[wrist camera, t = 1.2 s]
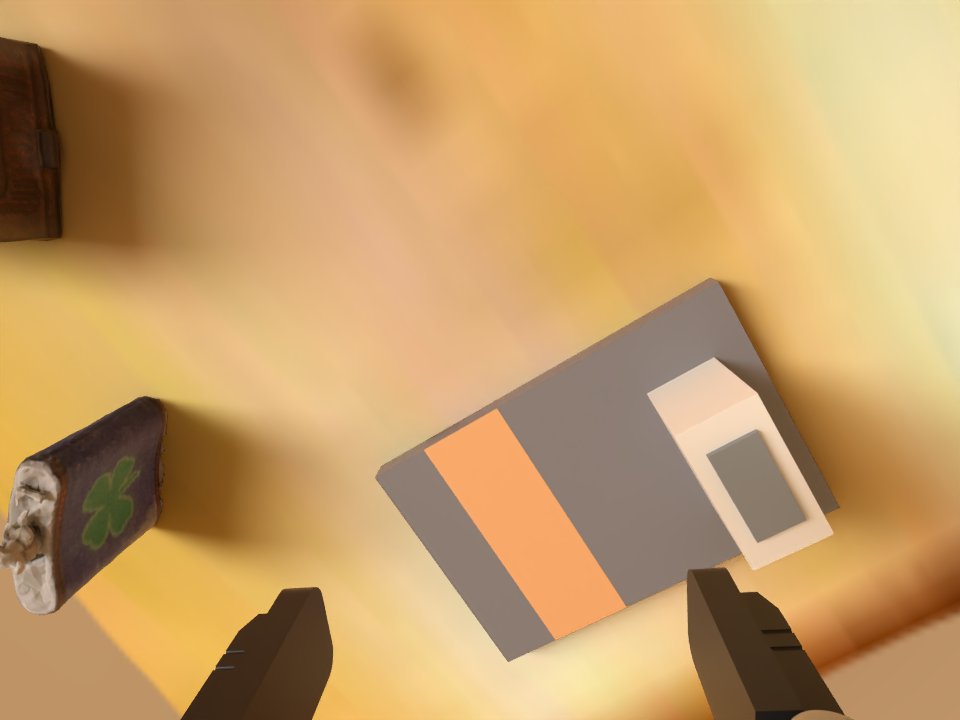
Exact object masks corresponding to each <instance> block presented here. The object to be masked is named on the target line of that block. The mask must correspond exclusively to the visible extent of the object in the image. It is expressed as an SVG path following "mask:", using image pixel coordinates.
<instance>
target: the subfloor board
mask: <svg viewBox="0 0 960 720" xmlns="http://www.w3.org/2000/svg"><path fill="white" fill-rule="evenodd" d="M713 357H714V358H716V359H717V360H718V361H719V362H720V363H722V364H723V365H724V366H725V367H726V368H728V369H729V370H730V371H731V372H733V373H734V374H735V375H736V376H737V377H739V378H740V379H741V380H742V381H743V382H745V383H746V384H747V385H748V386H750V387H751V388H752V389H753V390H754V391H756V392H757V393H758V395H759V397H760V399H761V401H762V402H763V404H764V406H765V408H766V410H767V412H768V413H769V415H770V417H771V419H772V421H773V423H774V424H775V426H776V428H777V430H778V432H779V434H780V435H781V437H782V439H783V441H784V443H785V445H786V446H787V448H788V450H789V452H790V454H791V455H792V457H793V459H794V461H795V463H796V465H797V466H798V468H799V470H800V472H801V474H802V476H803V477H804V479H805V481H806V483H807V485H808V487H809V488H810V490H811V492H812V494H813V496H814V498H815V499H816V501H817V503H818V505H819V507H820V509H821V510H822V512H823V514H824V515H825V514H827V513H829V512H831V511H834V510H836V509H838V508H840V507H839V505H838V503H837V501H836V499H835V497H834V495H833V494H832V492H831V490H830V488H829V486H828V484H827V482H826V481H825V479H824V477H823V475H822V473H821V471H820V469H819V468H818V466H817V464H816V462H815V460H814V458H813V456H812V455H811V453H810V451H809V449H808V447H807V445H806V443H805V442H804V440H803V438H802V436H801V434H800V432H799V430H798V429H797V427H796V425H795V423H794V421H793V419H792V417H791V416H790V414H789V412H788V410H787V408H786V406H785V404H784V403H783V401H782V399H781V397H780V395H779V393H778V391H777V390H776V388H775V386H774V384H773V382H772V380H771V378H770V377H769V375H768V373H767V371H766V369H765V367H764V365H763V363H762V362H761V360H760V358H759V356H758V354H757V352H756V350H755V349H754V347H753V345H752V343H751V341H750V339H749V337H748V336H747V334H746V332H745V330H744V328H743V326H742V324H741V323H740V321H739V319H738V317H737V315H736V313H735V311H734V310H733V308H732V306H731V304H730V302H729V300H728V298H727V297H726V295H725V293H724V291H723V289H722V287H721V285H720V284H719V282H718V281H715V280H713V279H710V278H709V279H707V280H706V281H704V282H702V283H700V284H699V285H697V286H695V287H693V288H692V289H690V290H688V291H686V292H685V293H683V294H681V295H679V296H678V297H676V298H674V299H672V300H671V301H669V302H667V303H665V304H664V305H662V306H660V307H659V308H657V309H655V310H653V311H652V312H650V313H648V314H646V315H645V316H643V317H641V318H639V319H638V320H636V321H634V322H632V323H631V324H629V325H627V326H625V327H624V328H622V329H620V330H618V331H617V332H615V333H613V334H611V335H610V336H608V337H606V338H604V339H603V340H601V341H599V342H597V343H596V344H594V345H592V346H590V347H589V348H587V349H585V350H583V351H582V352H580V353H578V354H577V355H575V356H573V357H571V358H570V359H568V360H566V361H564V362H563V363H561V364H559V365H557V366H556V367H554V368H552V369H550V370H549V371H547V372H545V373H543V374H542V375H540V376H538V377H536V378H535V379H533V380H531V381H529V382H528V383H526V384H524V385H522V386H521V387H519V388H517V389H515V390H514V391H512V392H510V393H508V394H507V395H505V396H503V397H501V398H500V399H498V400H496V401H495V402H493V403H491V404H489V405H488V406H486V407H484V408H482V409H481V410H479V411H477V412H475V413H474V414H472V415H470V416H468V417H467V418H465V419H463V420H461V421H460V422H458V423H456V424H454V425H453V426H451V427H449V428H447V429H446V430H444V431H442V432H440V433H439V434H437V435H435V436H433V437H432V438H430V439H428V440H426V441H425V442H423V443H421V444H419V445H418V446H416V447H414V448H413V449H411V450H409V451H407V452H406V453H404V454H402V455H400V456H399V457H397V458H395V459H393V460H392V461H390V462H388V463H386V464H385V465H383V466H381V468H380V470H379V471H378V473H377V475H376V477H375V478H376V479H377V481H378V482H379V484H380V485H381V486H382V488H383V489H384V491H385V492H386V493H387V495H388V496H389V498H390V499H391V500H392V502H393V503H394V504H395V506H396V507H397V509H398V510H399V511H400V513H401V514H402V516H403V517H404V518H405V520H406V521H407V522H408V524H409V525H410V527H411V528H412V529H413V531H414V532H415V534H416V535H417V536H418V538H419V539H420V541H421V542H422V543H423V545H424V546H425V547H426V549H427V550H428V552H429V553H430V554H431V556H432V557H433V559H434V560H435V561H436V563H437V564H438V565H439V567H440V568H441V570H442V571H443V572H444V574H445V575H446V577H447V578H448V579H449V581H450V582H451V584H452V585H453V586H454V588H455V589H456V590H457V592H458V593H459V595H460V596H461V597H462V599H463V600H464V602H465V603H466V604H467V606H468V607H469V608H470V610H471V611H472V613H473V614H474V615H475V617H476V618H477V620H478V621H479V622H480V624H481V625H482V627H483V628H484V629H485V631H486V632H487V633H488V635H489V636H490V638H491V639H492V640H493V642H494V643H495V645H496V646H497V647H498V649H499V650H500V651H501V653H502V654H503V656H504V657H505V658H506V660H507V661H508V662H509V661H511V660H513V659H516V658H518V657H520V656H522V655H524V654H526V653H529V652H531V651H533V650H535V649H537V648H539V647H541V646H544V645H546V644H548V643H550V642H552V641H554V640H557V639H559V638H561V637H563V636H566V635H568V634H570V633H572V632H574V631H576V630H578V629H581V628H583V627H585V626H587V625H589V624H591V623H594V622H596V621H598V620H600V619H602V618H604V617H606V616H609V615H611V614H613V613H615V612H617V611H619V610H621V609H624V608H626V607H627V606H630V605H632V604H634V603H636V602H638V601H640V600H642V599H645V598H647V597H649V596H651V595H653V594H655V593H657V592H660V591H662V590H664V589H666V588H668V587H670V586H672V585H675V584H677V583H679V582H681V581H683V580H685V579H687V572H688V570H689V569H705V568H711V567H713V566H715V565H718V564H720V563H722V562H724V561H726V560H728V559H730V558H733V557H735V556H737V555H739V554H741V553H742V552H741V551H740V549H739V547H738V546H737V544H736V542H735V541H734V539H733V538H732V536H731V534H730V533H729V531H728V530H727V528H726V526H725V525H724V523H723V522H722V520H721V518H720V517H719V515H718V513H717V512H716V510H715V509H714V507H713V505H712V504H711V502H710V500H709V499H708V497H707V495H706V493H705V492H704V490H703V488H702V487H701V485H700V483H699V482H698V480H697V478H696V476H695V475H694V473H693V471H692V470H691V468H690V466H689V465H688V463H687V461H686V460H685V458H684V456H683V454H682V453H681V451H680V449H679V448H678V446H677V444H676V443H675V441H674V439H673V437H672V436H671V434H670V432H669V431H668V429H667V427H666V426H665V424H664V422H663V421H662V419H661V417H660V415H659V414H658V412H657V410H656V409H655V407H654V405H653V404H652V402H651V400H650V399H649V397H648V395H647V393H649V392H651V391H653V390H655V389H656V388H658V387H660V386H662V385H664V384H666V383H667V382H669V381H671V380H673V379H675V378H677V377H678V376H680V375H682V374H684V373H686V372H688V371H690V370H691V369H693V368H695V367H697V366H699V365H701V364H702V363H704V362H706V361H708V360H710V359H712V358H713Z"/></svg>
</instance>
